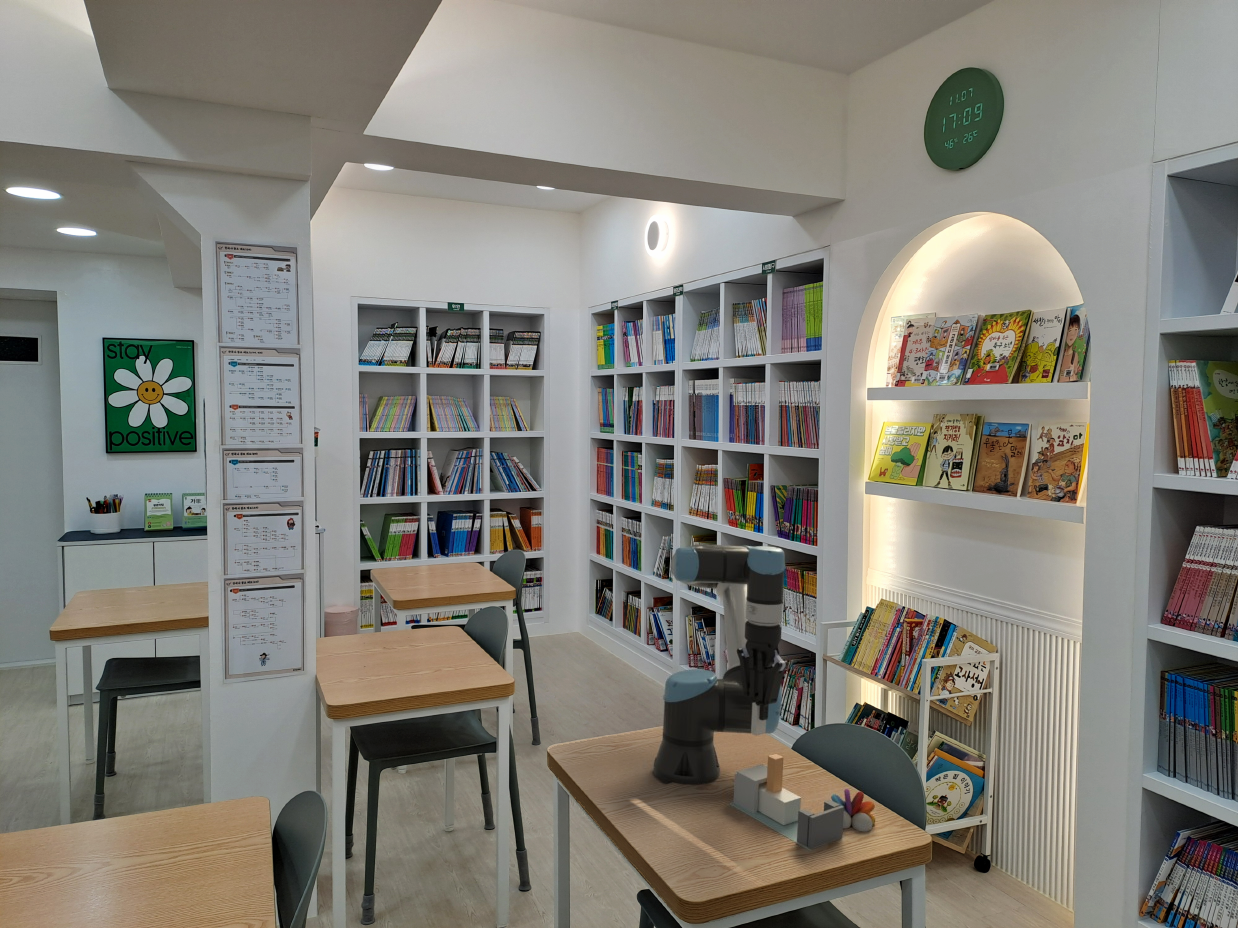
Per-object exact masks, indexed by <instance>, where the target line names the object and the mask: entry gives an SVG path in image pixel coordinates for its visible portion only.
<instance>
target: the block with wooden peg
mask: <svg viewBox="0 0 1238 928" xmlns="http://www.w3.org/2000/svg"><path fill="white" fill-rule="evenodd" d="M783 773H784V756H782V755H780V754H777V753H774V754H769V755H768V756H767V782H763V783H760V784H759V786H758V807H757V811H759V812H761V813H763V814H765V815H766V816H768V817H770V818H772V819H773V820H775V821H777V822H779V823H780V824H782V825H786V824H789V823H792V822H795V821H798V810H801V805H802V804H801V803H802V797H801V796H799V795H798V794H796V793H793V792H791V791H790V790H787V789H785V788H784V787H783V775H784V774H783Z"/></svg>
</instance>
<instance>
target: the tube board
mask: <svg viewBox="0 0 1238 928" xmlns="http://www.w3.org/2000/svg"><path fill="white" fill-rule="evenodd" d="M767 767H768V765H765V764H763V763H762V764H758V765H755V766H750V767H748V768H747V767H746V768H744V769H740V770H736V773H734V781H733V782H734V784H733V785H734V786H733V787H734V789H733V801H732V802H731V803H728V804H729V805H730V806H732V807H733V808H735V809H737V810H739V811H741V812H742V813H744V814H746V815H747V816H749V817H751V818H753V819H754V820H756V821H757V822H760V823H761V824H763V825H764V826H766V827H768V828H769V829H772V830H773V831H775V832H777V833H779V834H780V835H782V836H784V838H788V839H789V840H790V841H792V842H794V843H795V844H798V845H799V846H801V847H803V848H805V849H806V850H808V851H811V850H813V849H815V848H818V847H820V846H824V845H826V844H829V843H832V842H834V841H837V840H839V839H841V838H842V839H843V838H845V836H844V834H843V832H844V829H843V818H844V807H843V806H840V805H839V804H837V803H835V802H833V801H832V799H828V800H824V802H823V811H822V812H819V813H814V812H812V811H810V810H808V809H806V808H800V810H798V821H795V822H792V823H789V824H786V825H782V824H780V823H779V822H777V821H775V820H773V819H772V818H770V817H768V816H766V815H765V814H763V813H761V812H759V811H757V807H758V786H759V784H760V783H763V782H767Z"/></svg>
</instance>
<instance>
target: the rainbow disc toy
mask: <svg viewBox="0 0 1238 928" xmlns="http://www.w3.org/2000/svg"><path fill="white" fill-rule="evenodd" d="M843 793H844V799H842V798H841V797H840V796H839V795H837V794H835V793H833V794H832V795H831V797H830V798H831V799H830V800H831V801H833V802H835V803H837V804H839V805H840V806H843V807H844V818H843V830H844V829H849V828H850V827H851V826H852V828H853V829H854V830H857V831H859V832H870V831H871V830H872V828H873V826H874V825H875V824H876V818H875V816H874V815H873V814H872V812H873V811H874V809H875V807H876V806H875V805H876V804H874V802H873V801H870V800H866V801H864V798H865V797H864V796H865V794H864V792H863V791H862V790H861V791H858V792H856V794H855V795H854V796H853V798H852V799H851V793H850V789H849V788H845V789H844V790H843ZM851 816H852V817H851Z"/></svg>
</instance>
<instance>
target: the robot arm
mask: <svg viewBox="0 0 1238 928" xmlns="http://www.w3.org/2000/svg"><path fill="white" fill-rule="evenodd" d="M674 551H675V552H674V554H673V556H672V557H671V560H670V571H671V573H672V575H673V577H674V579H675V580H676V581H678V582H680V583H682V584H685V585H688V586H692V587H695V588H702V589H716V590H715V591H716V594H717V596H718V597H719V598H720V599H721V600H722V602H723V603H722V605H723V606H722V607H723V617H724V618H723V619H724V629H725V630H724V631H725V644H726V655H727V656H726V657H727V670H725V672H723V674H722V678H718V676H717V674H716V673H715V672H713V671H711V670H707V669H706V670H705V669H703V668H702V669H701V668H699V669H698V668H697V669H696V668H695V669H694V668H693V669H692V668H691V669H686V670H681V671H677V672H675V673H673V674H671V675H670V676H669V677H668V678H667V679H666V681H665V685H664V694H663V696H662V697H663V698H662V699H663V701H664V702H663V703H664V704H663V720H662V740H661V742H660V745H659V749H658V752H657V755H656V757H655V759H654V761H653V771H652V773H653V776H654V777H655V778H656V779H657V780H659V782H662V783H664V784H666V785H669V784H673V783H674V784H679V785H686V786H699V785H705V784H709V783H712V782H714V781H716V780H717V779H718V778H719V777H720V774H721V766H720V762H719V760H718V755H717V752H716V747H715V744H714V736H715V733H729V734H730V733H735V734H736V733H737V734H751V735H754V736H756V737H757V736H760V735H764V734H765V735H767V734H769V735H770V734H773V733H775V732H776V731H777V729H778V726H779V722H780V716H781V709H782V699H783V696H782V695H783V694H782V693H783V689H782V682H783V677H784V674H785V671H786V669H787V668H788V667H789V662H788V661H787V660H784V659H782V658H781V656H780V649H779V644H780V642H781V641H782V627H783V626H782V623H781V622H783V605H784V603H783V602H784V599H783V598H784V581H785V569H786V563H785V562H786V561H785V560H786V558H785V557H786V556H785V551H784V549H782V548H780V547H775V546H768V545H767V546H766V545H765V546H764V545H761V546H760V545H758V546H751V545H750V546H749V545H746V544H742V545H725V544H724V545H723V544H708V543H704V544H702V543H699V544H693V545H687V546H684V547H677V548H676V549H675V550H674Z"/></svg>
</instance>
